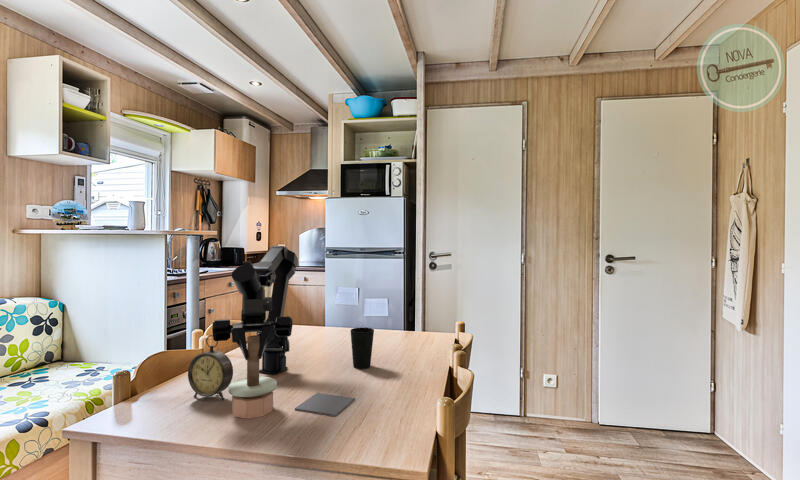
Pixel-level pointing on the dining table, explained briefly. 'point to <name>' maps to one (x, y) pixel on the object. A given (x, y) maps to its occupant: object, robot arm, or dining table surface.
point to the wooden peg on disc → (252, 374)
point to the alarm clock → (210, 373)
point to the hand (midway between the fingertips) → (253, 358)
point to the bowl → (252, 405)
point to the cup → (362, 347)
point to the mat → (325, 404)
